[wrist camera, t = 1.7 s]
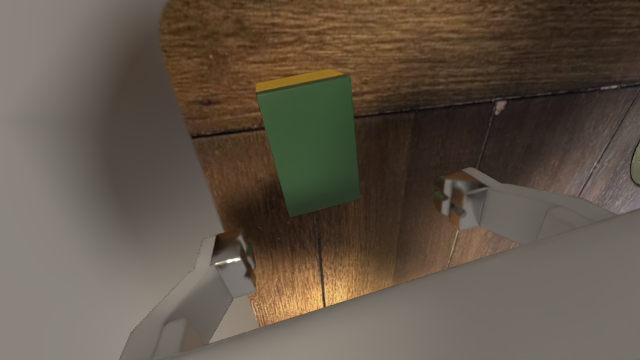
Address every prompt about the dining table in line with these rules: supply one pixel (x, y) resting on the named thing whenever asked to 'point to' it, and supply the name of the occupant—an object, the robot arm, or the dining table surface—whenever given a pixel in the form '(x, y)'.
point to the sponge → (311, 138)
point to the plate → (636, 166)
